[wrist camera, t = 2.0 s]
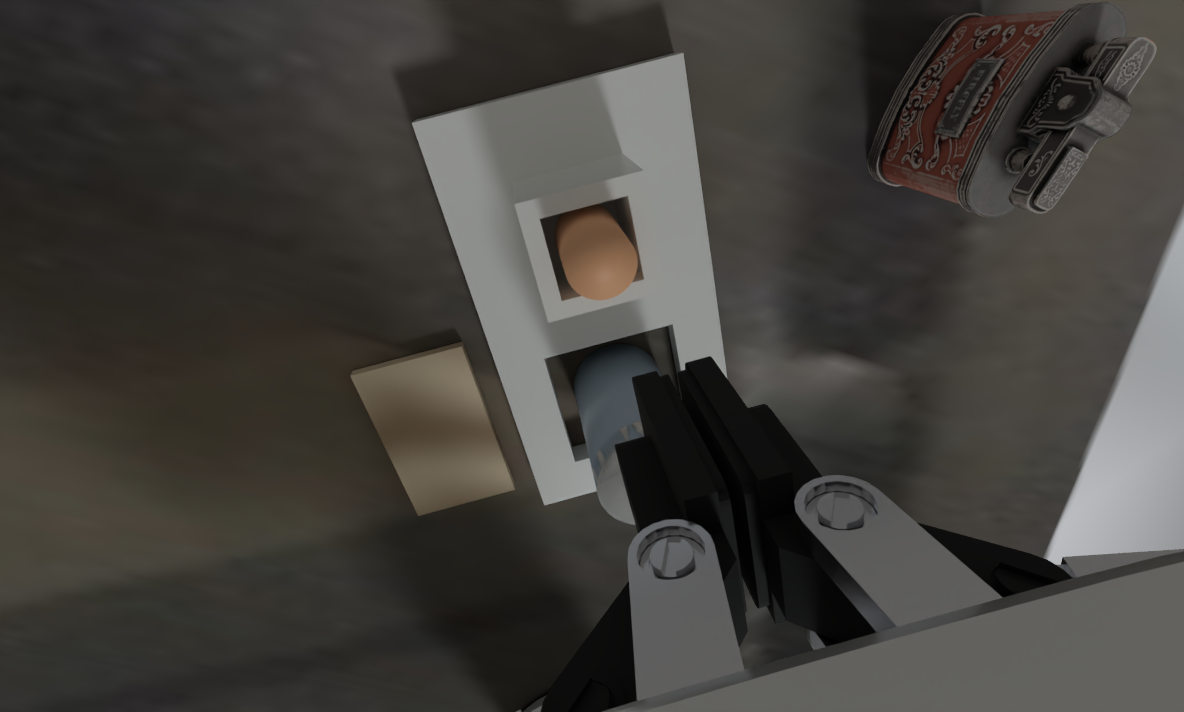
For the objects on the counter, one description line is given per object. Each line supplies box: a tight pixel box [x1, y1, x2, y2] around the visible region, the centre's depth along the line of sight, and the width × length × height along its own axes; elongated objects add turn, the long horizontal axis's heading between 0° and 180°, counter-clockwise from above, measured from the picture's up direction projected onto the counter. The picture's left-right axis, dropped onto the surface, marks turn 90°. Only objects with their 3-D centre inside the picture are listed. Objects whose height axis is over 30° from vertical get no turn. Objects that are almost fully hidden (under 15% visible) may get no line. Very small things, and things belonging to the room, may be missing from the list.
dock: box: [412, 53, 727, 505], centre depth 29 cm, size 22×12×6 cm, turn 13°
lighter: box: [867, 2, 1157, 218], centre depth 25 cm, size 8×3×10 cm, turn 159°
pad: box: [350, 342, 515, 516], centre depth 34 cm, size 10×6×1 cm, turn 13°
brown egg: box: [554, 204, 638, 300], centre depth 25 cm, size 3×3×4 cm
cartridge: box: [574, 344, 662, 525], centre depth 30 cm, size 5×5×9 cm
